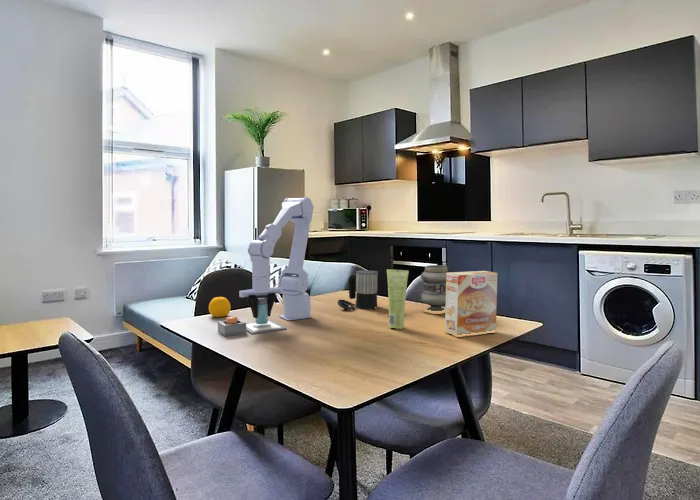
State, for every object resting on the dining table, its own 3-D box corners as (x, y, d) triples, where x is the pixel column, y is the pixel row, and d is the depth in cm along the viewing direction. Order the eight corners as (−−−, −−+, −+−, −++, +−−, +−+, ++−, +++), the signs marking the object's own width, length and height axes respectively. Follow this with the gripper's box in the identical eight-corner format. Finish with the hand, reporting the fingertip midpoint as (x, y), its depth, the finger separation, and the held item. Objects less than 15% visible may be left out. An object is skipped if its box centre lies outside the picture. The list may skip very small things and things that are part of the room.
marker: (265, 320, 155) (264, 297, 154) (269, 323, 151) (269, 299, 151) (253, 322, 152) (253, 298, 152) (258, 324, 149) (258, 300, 149)
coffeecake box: (457, 338, 139) (458, 274, 137) (444, 332, 145) (445, 272, 144) (497, 333, 144) (498, 272, 143) (482, 328, 151) (483, 270, 149)
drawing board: (270, 321, 161) (270, 319, 161) (286, 329, 150) (286, 327, 150) (237, 326, 154) (237, 324, 154) (251, 334, 143) (251, 332, 143)
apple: (233, 317, 168) (233, 297, 168) (212, 319, 164) (212, 299, 163) (226, 313, 175) (226, 294, 174) (206, 315, 171) (205, 296, 170)
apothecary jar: (413, 311, 177) (414, 265, 176) (432, 307, 186) (433, 263, 184) (439, 316, 169) (440, 268, 167) (458, 312, 177) (458, 266, 175)
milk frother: (381, 306, 189) (381, 270, 188) (366, 313, 175) (366, 275, 174) (350, 303, 195) (350, 269, 194) (333, 310, 181) (333, 273, 180)
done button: (235, 323, 148) (235, 316, 148) (239, 325, 145) (239, 318, 145) (224, 324, 146) (224, 317, 146) (228, 327, 143) (228, 319, 143)
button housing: (239, 328, 150) (238, 318, 150) (246, 333, 144) (246, 322, 144) (217, 331, 147) (217, 321, 146) (224, 336, 141) (224, 325, 140)
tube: (401, 325, 155) (401, 268, 153) (408, 329, 150) (408, 270, 149) (386, 326, 153) (386, 269, 152) (392, 330, 148) (393, 270, 147)
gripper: (276, 273, 158) (277, 312, 159) (235, 276, 150) (236, 317, 151) (285, 275, 152) (285, 315, 153) (243, 278, 144) (243, 321, 145)
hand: (261, 316), depth 152 cm, fingers closed on marker, 4 cm apart
